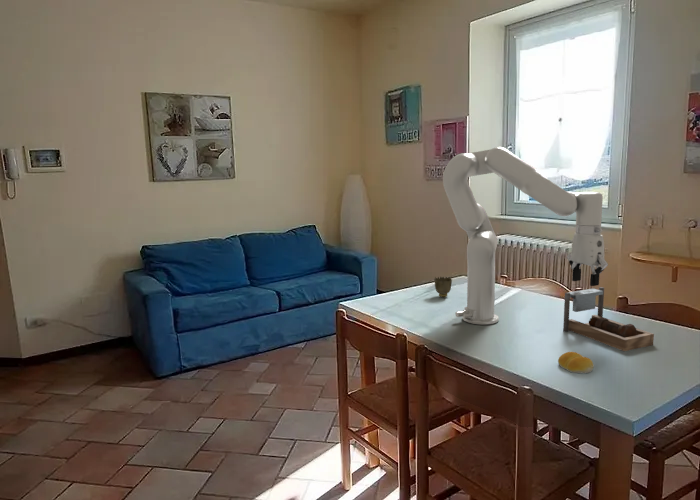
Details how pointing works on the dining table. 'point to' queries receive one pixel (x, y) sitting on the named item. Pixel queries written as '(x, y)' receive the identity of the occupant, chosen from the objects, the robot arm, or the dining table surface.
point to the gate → (584, 299)
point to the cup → (443, 285)
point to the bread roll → (575, 363)
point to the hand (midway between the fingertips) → (585, 282)
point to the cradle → (603, 336)
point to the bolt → (613, 327)
